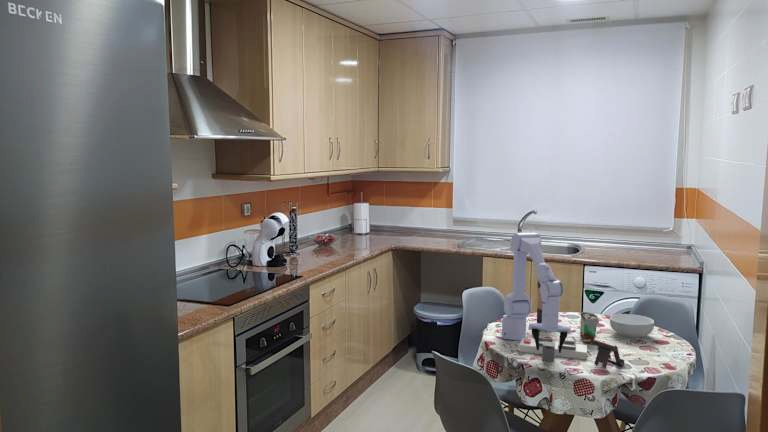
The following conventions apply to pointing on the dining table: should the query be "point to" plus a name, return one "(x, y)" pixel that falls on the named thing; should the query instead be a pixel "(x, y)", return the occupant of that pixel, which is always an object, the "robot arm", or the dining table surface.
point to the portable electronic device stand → (607, 353)
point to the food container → (588, 327)
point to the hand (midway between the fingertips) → (548, 350)
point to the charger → (548, 351)
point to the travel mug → (539, 305)
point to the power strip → (566, 351)
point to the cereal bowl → (631, 325)
